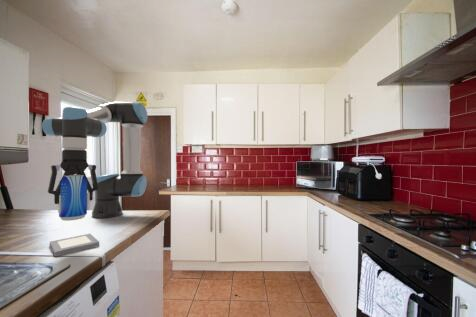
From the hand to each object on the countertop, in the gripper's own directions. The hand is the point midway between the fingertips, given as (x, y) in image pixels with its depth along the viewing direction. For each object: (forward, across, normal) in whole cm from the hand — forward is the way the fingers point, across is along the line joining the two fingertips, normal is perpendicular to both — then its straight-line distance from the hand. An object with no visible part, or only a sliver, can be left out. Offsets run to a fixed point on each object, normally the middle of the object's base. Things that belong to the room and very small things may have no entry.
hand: (74, 210), depth 85 cm
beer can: (+3, 0, 0) cm, 3 cm away
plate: (+13, 0, 0) cm, 13 cm away
